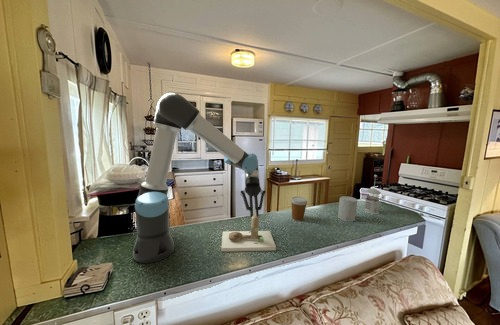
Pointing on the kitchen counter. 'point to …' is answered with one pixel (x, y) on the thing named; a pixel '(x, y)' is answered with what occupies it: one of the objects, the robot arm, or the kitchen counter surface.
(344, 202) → the grey cylinder
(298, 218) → the disposable coffee cup
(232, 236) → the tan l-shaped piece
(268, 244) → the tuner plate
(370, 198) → the french press
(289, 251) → the kitchen counter surface
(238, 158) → the robot arm
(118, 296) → the kitchen counter surface
